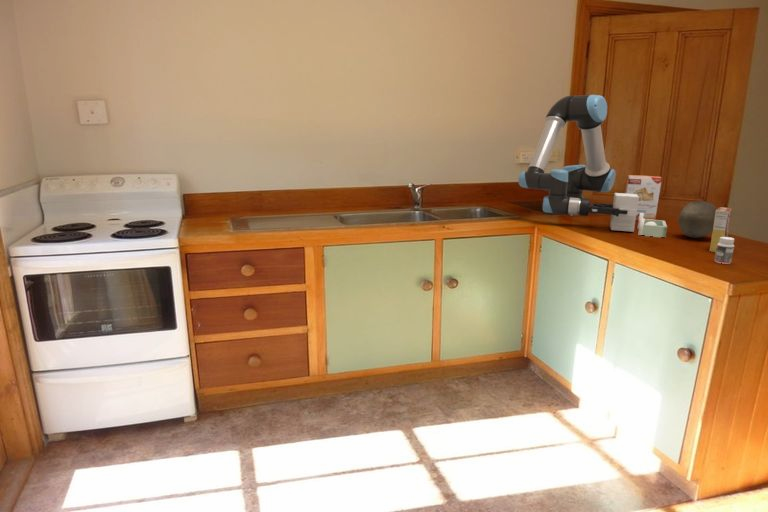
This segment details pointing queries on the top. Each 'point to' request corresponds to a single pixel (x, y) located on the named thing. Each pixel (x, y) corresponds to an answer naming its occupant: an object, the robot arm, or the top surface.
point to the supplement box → (623, 220)
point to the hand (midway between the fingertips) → (636, 210)
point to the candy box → (720, 226)
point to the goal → (651, 227)
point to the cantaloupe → (697, 219)
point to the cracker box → (645, 194)
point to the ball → (651, 223)
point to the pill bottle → (724, 250)
